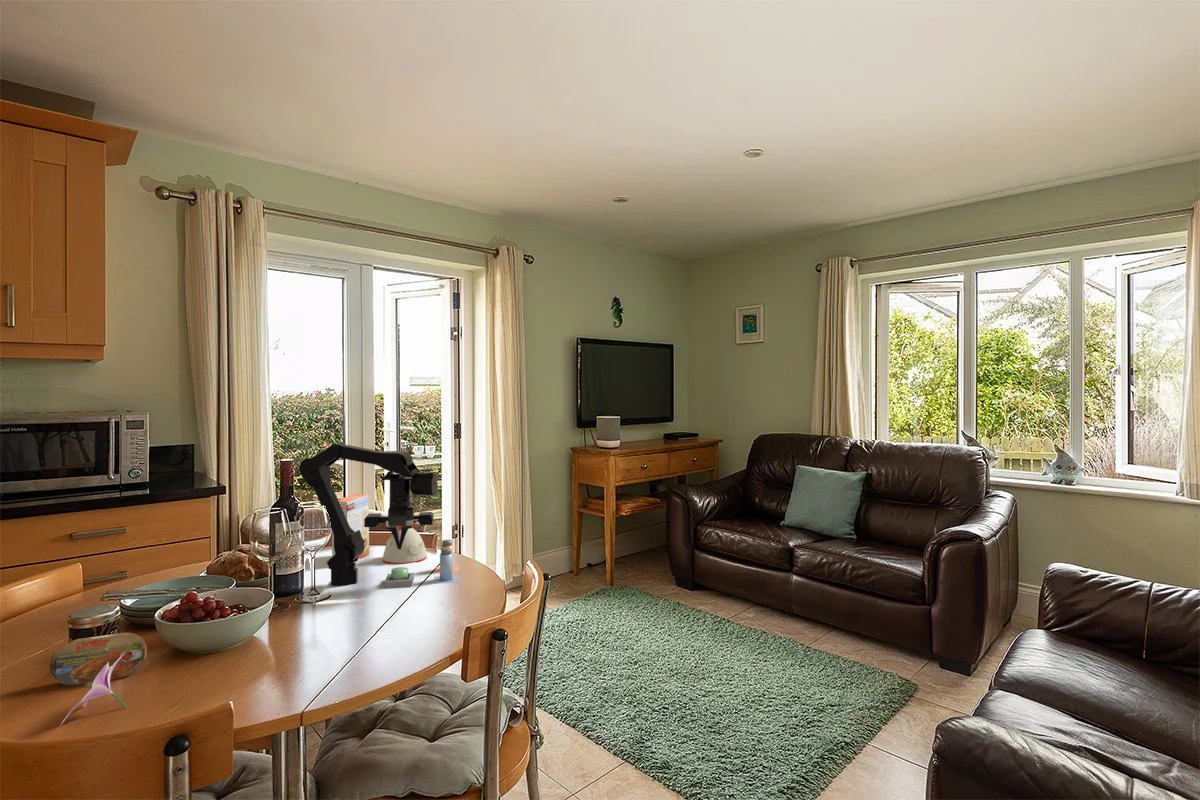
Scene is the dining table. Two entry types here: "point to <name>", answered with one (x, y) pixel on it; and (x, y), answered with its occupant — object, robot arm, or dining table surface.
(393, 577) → the button
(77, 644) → the tin
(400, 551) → the kitchen timer
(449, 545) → the terracotta marker
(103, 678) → the lily
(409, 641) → the dining table surface
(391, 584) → the cream board with squares
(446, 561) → the blue bottle
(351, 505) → the cracker box
